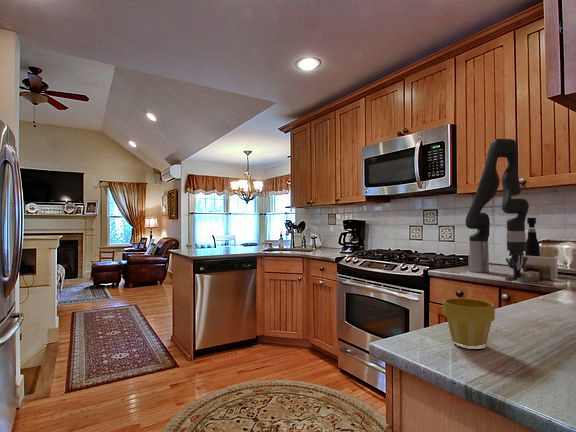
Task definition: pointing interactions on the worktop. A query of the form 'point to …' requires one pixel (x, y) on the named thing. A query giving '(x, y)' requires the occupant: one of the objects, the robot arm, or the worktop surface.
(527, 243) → the wine bottle
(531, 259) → the backstop board
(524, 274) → the peg
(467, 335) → the plant pot
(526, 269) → the block
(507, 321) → the worktop surface
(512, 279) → the guide rails
